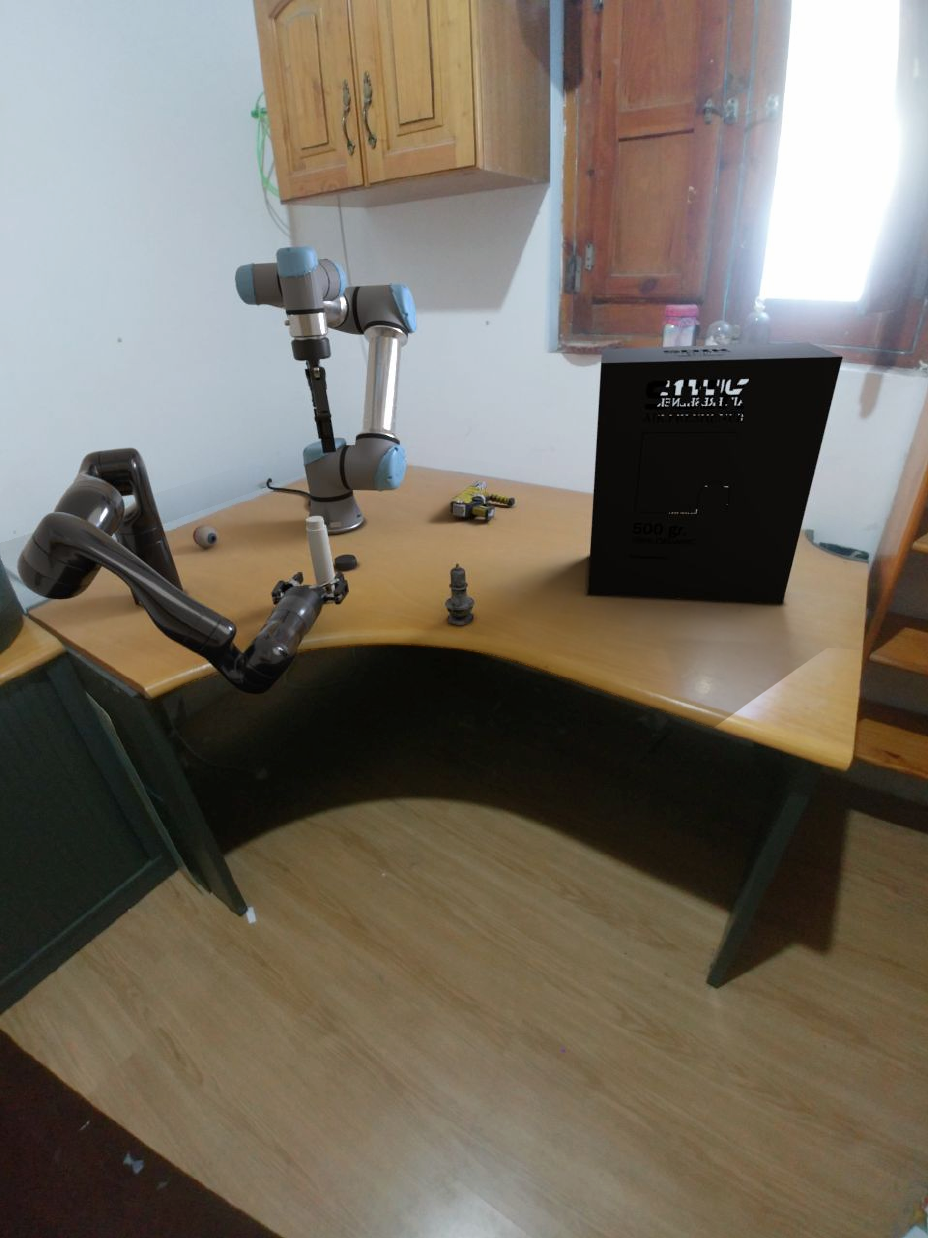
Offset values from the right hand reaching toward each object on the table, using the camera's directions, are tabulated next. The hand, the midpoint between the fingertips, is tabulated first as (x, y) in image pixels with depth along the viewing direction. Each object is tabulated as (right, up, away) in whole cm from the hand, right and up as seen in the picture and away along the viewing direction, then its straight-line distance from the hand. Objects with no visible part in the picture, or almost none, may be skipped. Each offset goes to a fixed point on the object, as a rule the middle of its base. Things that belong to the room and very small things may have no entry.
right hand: (327, 444), depth 131 cm
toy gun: (+37, -6, +45) cm, 58 cm away
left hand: (0, -29, -5) cm, 29 cm away
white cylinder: (0, -33, 0) cm, 33 cm away
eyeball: (-38, -19, +29) cm, 51 cm away
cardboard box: (+76, -29, 0) cm, 81 cm away
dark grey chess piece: (+29, -38, -11) cm, 49 cm away
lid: (+1, -24, +13) cm, 27 cm away
